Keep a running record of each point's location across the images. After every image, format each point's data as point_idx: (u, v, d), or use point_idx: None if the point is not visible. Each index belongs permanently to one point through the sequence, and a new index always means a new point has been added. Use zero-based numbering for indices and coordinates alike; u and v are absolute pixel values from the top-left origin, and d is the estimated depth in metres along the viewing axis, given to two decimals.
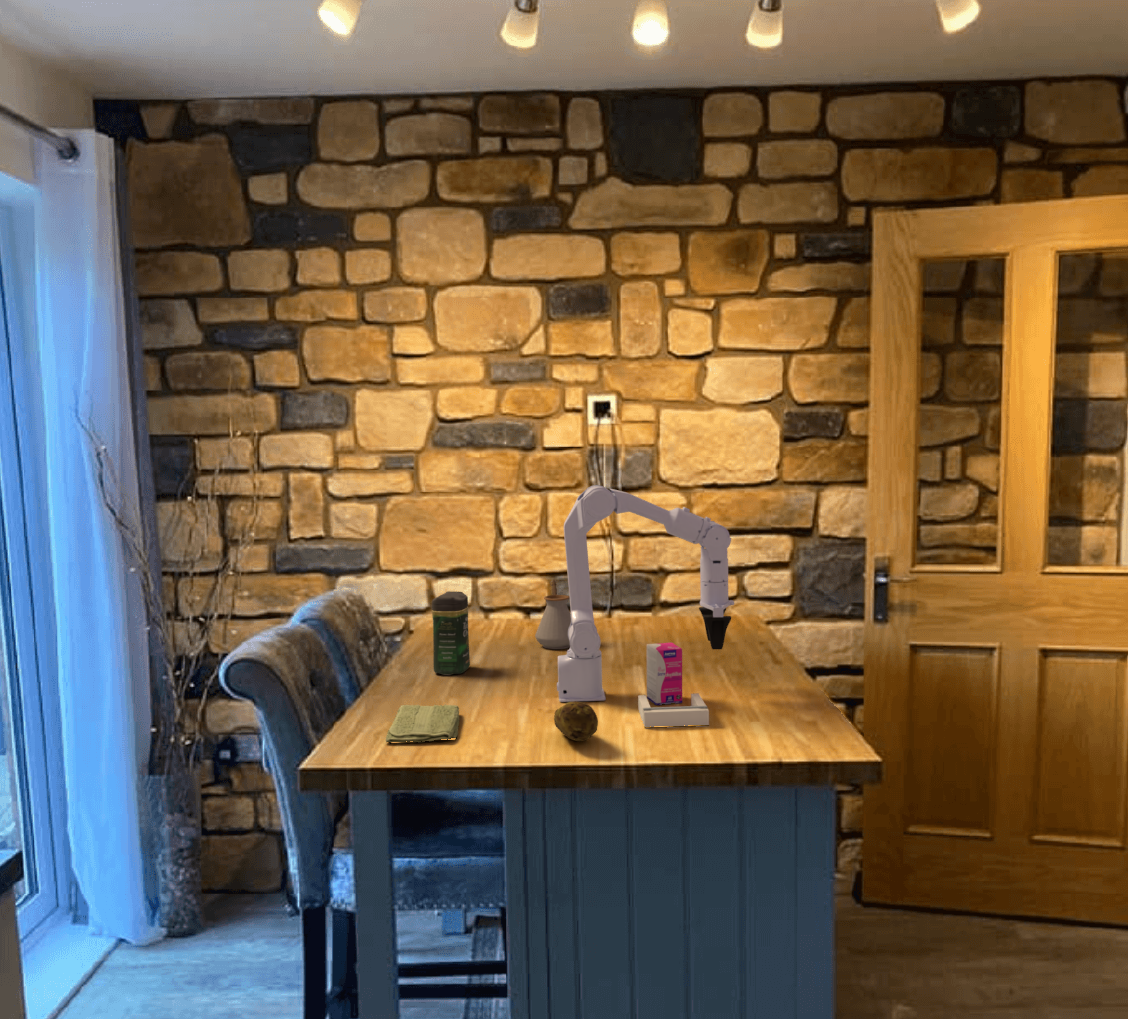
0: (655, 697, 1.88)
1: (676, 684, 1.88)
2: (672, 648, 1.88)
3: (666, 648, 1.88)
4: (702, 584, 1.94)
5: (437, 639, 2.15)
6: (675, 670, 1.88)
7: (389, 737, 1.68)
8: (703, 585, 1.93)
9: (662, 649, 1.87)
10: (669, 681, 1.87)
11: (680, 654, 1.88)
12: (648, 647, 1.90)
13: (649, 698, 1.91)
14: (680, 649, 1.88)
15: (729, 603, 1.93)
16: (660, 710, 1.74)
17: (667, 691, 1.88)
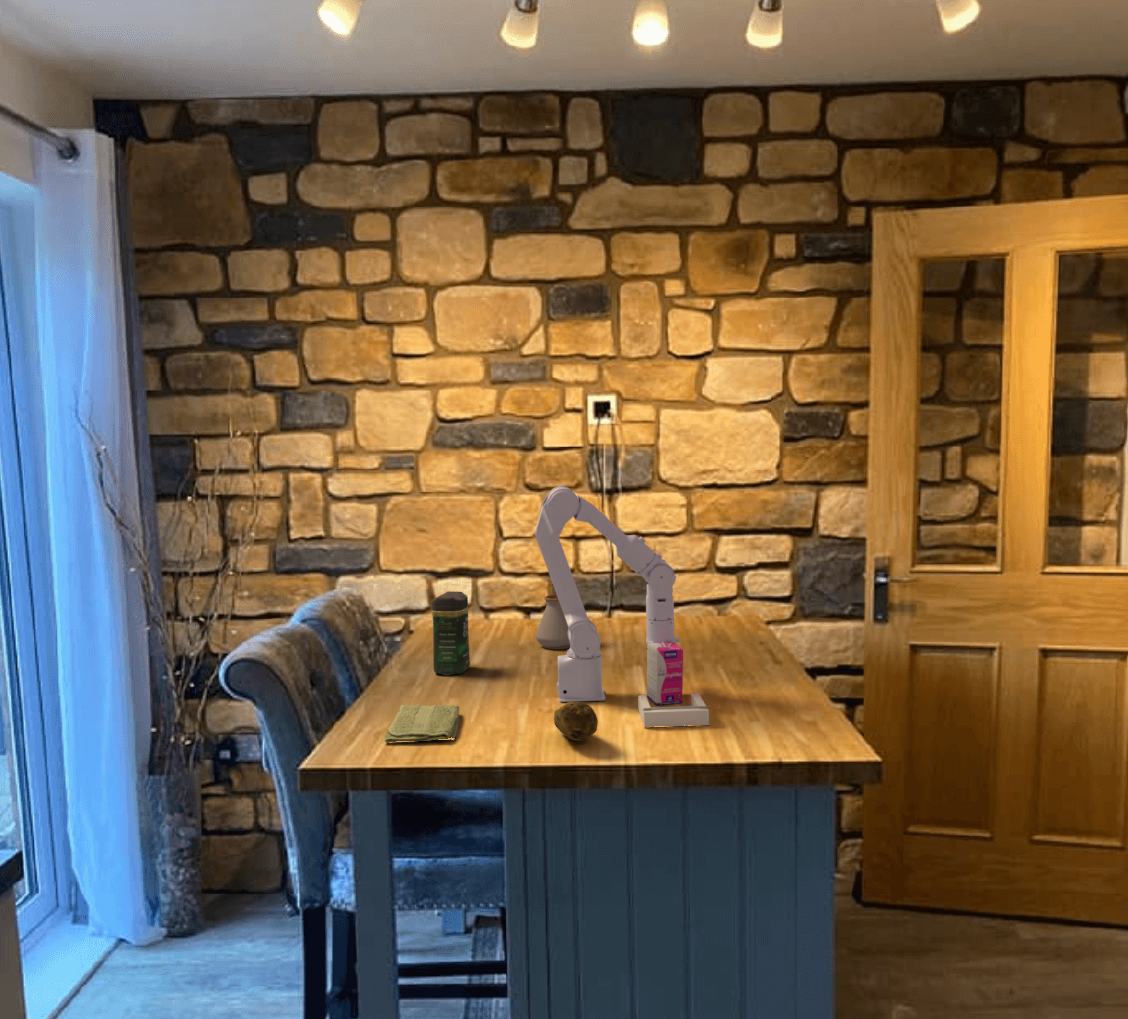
0: (655, 697, 1.88)
1: (676, 684, 1.88)
2: (673, 648, 1.87)
3: (667, 648, 1.87)
4: (648, 622, 1.94)
5: (437, 639, 2.15)
6: (676, 670, 1.87)
7: (388, 737, 1.69)
8: (649, 623, 1.93)
9: (663, 649, 1.87)
10: (669, 681, 1.87)
11: (681, 655, 1.87)
12: (649, 647, 1.90)
13: (649, 697, 1.91)
14: (681, 650, 1.87)
15: (675, 640, 1.94)
16: (660, 710, 1.74)
17: (668, 691, 1.88)
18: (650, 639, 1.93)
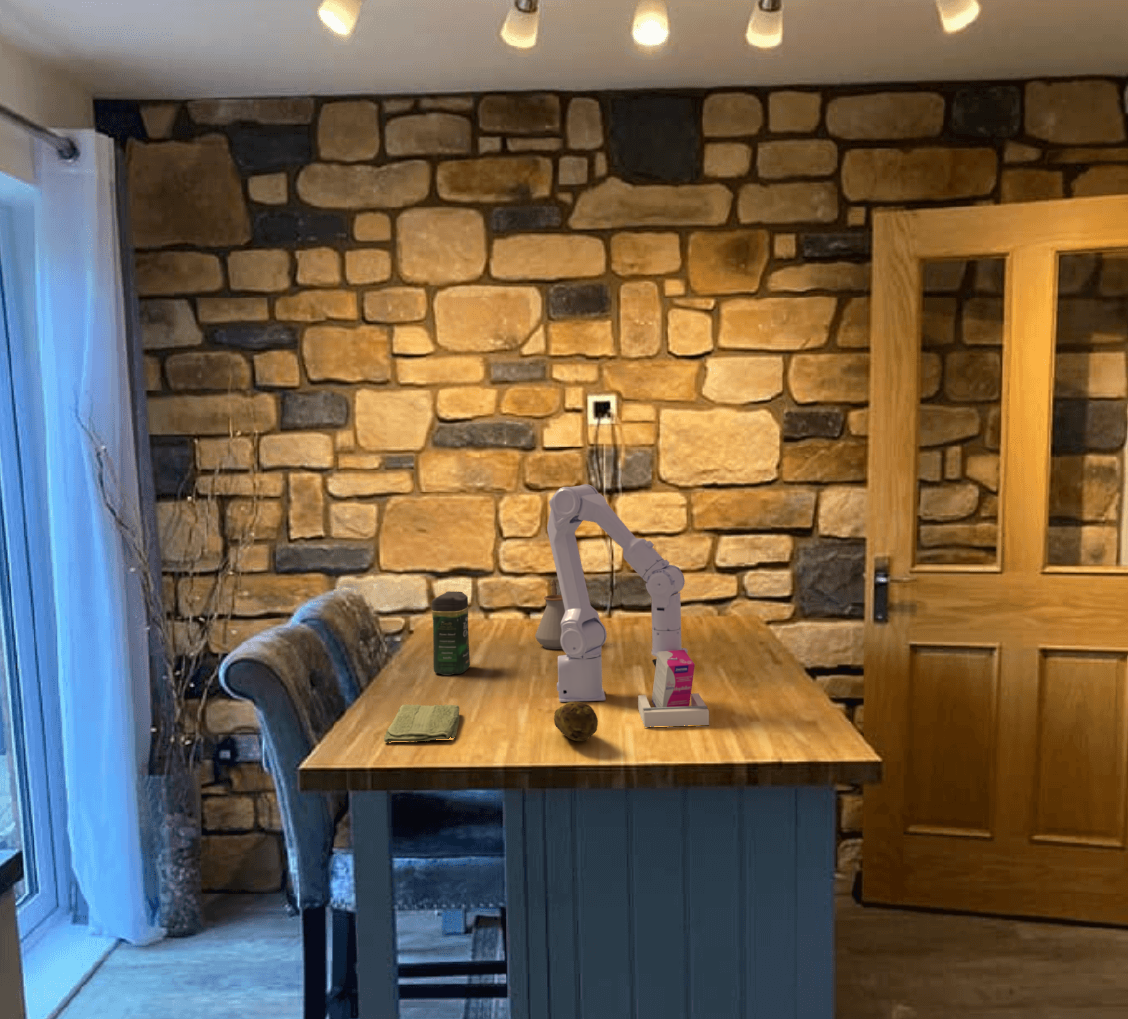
0: None
1: (684, 697, 1.79)
2: (684, 663, 1.77)
3: (678, 662, 1.77)
4: (654, 632, 1.84)
5: (437, 639, 2.15)
6: (685, 684, 1.78)
7: (387, 736, 1.69)
8: (655, 633, 1.83)
9: (674, 664, 1.77)
10: (677, 694, 1.79)
11: (692, 669, 1.77)
12: (659, 656, 1.80)
13: (654, 704, 1.83)
14: (692, 664, 1.77)
15: None
16: (660, 710, 1.74)
17: (674, 704, 1.79)
18: (656, 650, 1.83)
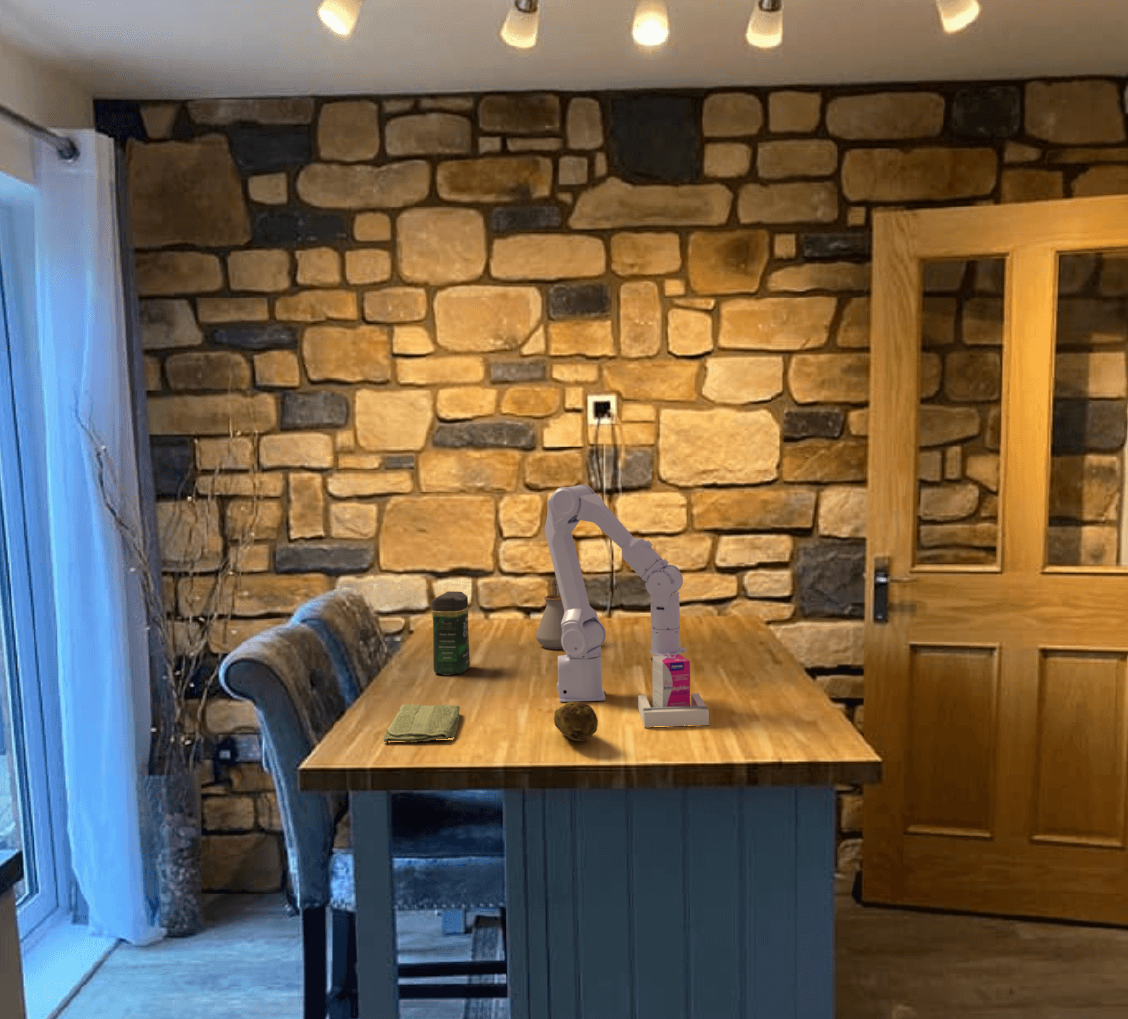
0: None
1: (683, 698, 1.78)
2: (679, 660, 1.78)
3: (673, 660, 1.78)
4: (652, 631, 1.85)
5: (437, 639, 2.15)
6: (683, 684, 1.78)
7: (387, 736, 1.69)
8: (654, 632, 1.85)
9: (669, 661, 1.77)
10: (676, 695, 1.77)
11: (688, 667, 1.78)
12: (654, 659, 1.80)
13: None
14: (688, 661, 1.78)
15: (681, 651, 1.85)
16: (660, 710, 1.74)
17: (674, 706, 1.78)
18: (655, 649, 1.85)
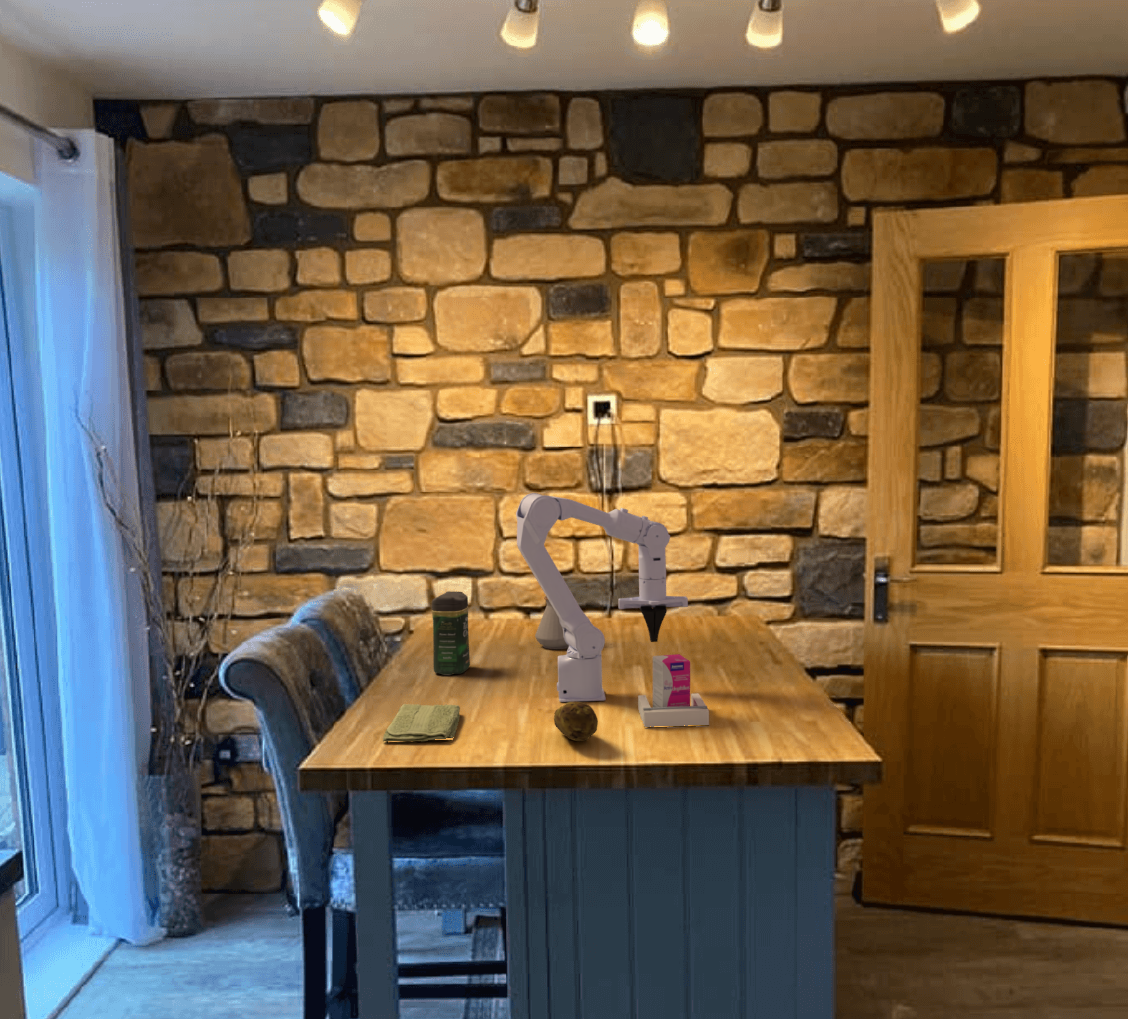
0: None
1: (684, 698, 1.78)
2: (679, 660, 1.78)
3: (673, 660, 1.78)
4: None
5: (437, 639, 2.15)
6: (683, 684, 1.78)
7: (386, 736, 1.69)
8: None
9: (669, 661, 1.77)
10: (676, 695, 1.77)
11: (688, 667, 1.78)
12: (654, 659, 1.80)
13: None
14: (688, 661, 1.78)
15: (648, 602, 1.95)
16: (660, 710, 1.74)
17: (674, 706, 1.78)
18: None
